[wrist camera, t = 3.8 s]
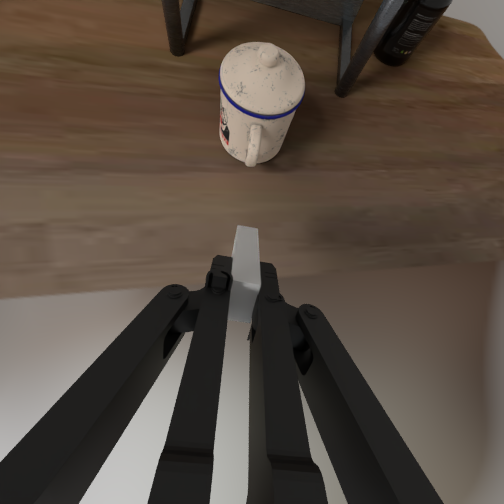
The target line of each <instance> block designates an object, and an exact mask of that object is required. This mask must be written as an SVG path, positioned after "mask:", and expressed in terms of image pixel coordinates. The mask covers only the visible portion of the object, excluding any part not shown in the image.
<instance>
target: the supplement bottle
mask: <svg viewBox="0 0 504 504" xmlns="http://www.w3.org/2000/svg"><path fill="white" fill-rule="evenodd" d="M451 2H452V0H404V2H403V4H402V5H401V7H400V9H399V10H398V12H397V14H396V15H395V17H394V18H393V20H392V22H391V23H390V25H389V27H388V28H387V30H386V32H385V33H384V35H383V36H382V38H381V40H380V41H379V43H378V45H377V46H376V48H375V50H374V51H373V53H374V54H375V56H376V57H377V58H378V59H379V60H380V61H381V62H383V63H384V64H387V65H390V66H399V65H402V64H404V63H405V62H406V61H407V60H408V59H409V58H410V56H411V55H412V54H413V53H414V51H415V50H416V49H417V47H418V46H419V45H420V43H421V42H422V41H423V39H424V38H425V37H426V36H427V34H428V33H429V32H430V30H431V29H432V28H433V26H434V25H435V24H436V23H437V21H438V20H439V19H440V17H441V16H442V15H443V13H444V12H445V11H446V9H447V8H448V7H449V5H450V4H451Z"/></svg>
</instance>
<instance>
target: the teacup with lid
mask: <svg viewBox="0 0 504 504" xmlns="http://www.w3.org/2000/svg"><path fill="white" fill-rule="evenodd" d="M219 84H220V88H221V98H220V139H221V142H222V144H223V146H224V148H225V149H226V150H227V152H228V153H229V154H231V155H232V156H233V157H234V158H236V159H238V160H240V161H243V162H245V164H246V166H249V167H254V166H255V165H256V163H262V162H266V161H268V160H270V159H272V158H273V157H274V156H275V155H276V154H277V153H278V152H279V150H280V148H281V146H282V143H283V141H284V138H285V136H286V133H287V131H288V128H289V126H290V123H291V121H292V118H293V116H294V114H295V111H296V109H297V108H298V107H299V105H300V104H301V102H302V100H303V97H304V93H305V80H304V75H303V72H302V70H301V68H300V66H299V64H298V63H297V61H296V60H295V59H294V58H293V57H292V56H291V55H290V54H289V53H287V52H286V51H284V50H283V49H281V48H279V47H277V46H275V45H273V44H271V43H263V42H249V43H244V44H241V45H239V46H237V47H235V48H234V49H232V50H231V51H230V52H229V53H228V54H227V55H226V56H225V58H224V60H223V62H222V64H221V66H220V70H219Z"/></svg>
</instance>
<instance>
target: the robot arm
mask: <svg viewBox="0 0 504 504" xmlns="http://www.w3.org/2000/svg"><path fill="white" fill-rule="evenodd" d="M251 318H252V325H251V328H250V332H249V335H248V339H247V340H249V339H250V371H249V373H250V374H249V378H250V380H249V472H248V496H247V502H246V504H328V501H327V497H326V491H325V485H324V481H323V477H322V474H321V471H320V469H319V467H318V466H317V465H316V464H315V463H314V462H313V460H312V458H311V454H310V448H309V442H308V436H307V430H306V424H305V418H304V413H303V407H302V401H301V395H300V390H299V383H300V386H301V388H302V391H303V393H304V396H305V398H306V401H307V403H308V406H309V408H310V410H311V413H312V415H313V418H314V421H315V423H316V426H317V428H318V431H319V433H320V435H321V438H322V441H323V443H324V445H325V448H326V451H327V453H328V456H329V458H330V460H331V463H332V465H333V468H334V470H335V473H336V475H337V478H338V480H339V483H340V485H341V488H342V490H343V493H344V495H345V498H346V500H347V502H348V504H444V503H443V502H442V500H441V499H440V497H439V496H438V494H437V492H436V491H435V489H434V488H433V486H432V484H431V483H430V481H429V480H428V478H427V477H426V475H425V474H424V472H423V470H422V469H421V467H420V466H419V464H418V462H417V461H416V459H415V458H414V456H413V455H412V453H411V451H410V450H409V448H408V447H407V445H406V443H405V442H404V441H403V439H402V437H401V436H400V434H399V432H398V431H397V430H396V428H395V426H394V425H393V423H392V421H391V420H390V418H389V417H388V415H387V414H386V412H385V410H384V409H383V407H382V406H381V404H380V403H379V401H378V400H377V398H376V396H375V395H374V394H373V392H372V390H371V388H370V387H369V385H368V384H367V382H366V380H365V379H364V377H363V376H362V374H361V373H360V371H359V369H358V368H357V366H356V365H355V363H354V362H353V360H352V359H351V357H350V355H349V354H348V352H347V351H346V349H345V348H344V346H343V344H342V343H341V341H340V340H339V338H338V336H337V335H336V333H335V332H334V330H333V329H332V327H331V325H330V324H329V322H328V321H327V319H326V317H325V316H324V314H323V313H322V312H321V311H320V309H318V308H317V307H315V306H313V305H310V304H303V305H301V306H300V307H299V308H296V307H294V306H291V305H289V304H287V303H286V302H285V300H284V298H283V296H282V295H281V294H280V293H279V286H278V279H277V273H276V268H275V267H274V266H273V264H271V263H265V262H260V258H259V240H258V229H257V228H251V227H246V226H241V225H238V226H237V231H236V236H235V242H234V247H233V252H232V257H227V256H221V255H217V256H216V257H215V258H213V262H212V265H211V269H210V271H209V272H208V273H207V276H206V283H205V287H204V288H202V289H201V290H197V291H188V289H187V288H186V287H184V286H182V285H178V284H172V285H168V286H166V287H164V288H163V289H162V290H161V291H160V292H159V293H158V294H157V295H156V296H155V297H154V298H153V299H152V300H151V301H150V303H149V304H148V305H147V306H146V307H145V308H144V309H143V310H142V311H141V312H140V313H139V314H138V315H137V316H136V318H135V319H134V320H133V321H132V322H131V323H130V324H129V325H128V326H127V327H126V328H125V329H124V330H123V331H122V332H121V334H120V335H119V336H118V337H117V338H116V339H115V340H114V341H113V342H112V343H111V344H110V345H109V346H108V347H107V349H106V350H105V351H104V352H103V353H102V354H101V355H100V356H99V357H98V358H97V359H96V360H95V361H94V363H93V364H92V365H91V366H90V367H89V368H88V369H87V370H86V371H85V372H84V373H83V374H82V375H81V376H80V378H79V379H78V380H77V381H76V382H75V383H74V384H73V385H72V386H71V387H70V388H69V389H68V390H67V391H66V393H65V394H64V395H63V396H62V397H61V398H60V399H59V400H58V401H57V402H56V403H55V404H54V405H53V406H52V407H51V409H50V410H49V411H48V412H47V413H46V414H45V415H44V416H43V417H42V418H41V419H40V420H39V421H38V423H37V424H36V425H35V426H34V427H33V428H32V429H31V430H30V431H29V432H28V433H27V434H26V435H25V436H24V437H23V438H22V440H21V441H20V442H19V443H18V444H17V445H16V446H15V447H14V448H13V449H12V450H11V451H10V452H9V453H8V455H7V456H6V457H5V458H4V459H3V460H2V461H1V462H0V504H79V502H80V501H81V499H82V497H83V496H84V494H85V493H86V491H87V489H88V488H89V486H90V485H91V483H92V481H93V480H94V478H95V477H96V475H97V473H98V472H99V470H100V468H101V467H102V465H103V464H104V462H105V461H106V459H107V457H108V456H109V454H110V453H111V451H112V449H113V448H114V446H115V445H116V443H117V442H118V440H119V438H120V437H121V435H122V434H123V432H124V430H125V429H126V427H127V426H128V424H129V422H130V421H131V419H132V418H133V416H134V414H135V413H136V411H137V409H138V408H139V406H140V405H141V403H142V402H143V399H144V398H145V397H146V395H147V394H148V392H149V390H150V389H151V387H152V386H153V384H154V382H155V381H156V379H157V378H158V376H159V374H160V373H161V371H162V369H163V368H164V366H165V365H166V363H167V362H168V360H169V358H170V357H171V355H172V354H173V352H174V350H175V349H176V347H177V346H178V344H179V342H180V341H181V339H182V338H183V336H184V334H185V332H190V331H194V332H193V337H192V340H191V344H190V349H189V352H188V356H187V360H186V364H185V368H184V372H183V376H182V379H181V383H180V387H179V391H178V395H177V399H176V403H175V407H174V411H173V415H172V419H171V423H170V426H169V431H168V434H167V439H166V442H165V446H164V449H163V451H162V453H161V456H160V459H159V462H158V466H157V469H156V473H155V477H154V481H153V484H152V488H151V492H150V496H149V500H148V504H209V503H210V493H211V483H212V473H213V461H214V455H213V450H214V440H215V431H216V421H217V412H218V402H219V393H220V385H221V384H220V383H221V375H222V366H223V357H224V347H225V339H226V329H227V320H232V321H240V322H246V323H250V322H251ZM298 381H299V383H298Z"/></svg>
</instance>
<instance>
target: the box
mask: <svg viewBox="0 0 504 504" xmlns="http://www.w3.org/2000/svg"><path fill="white" fill-rule="evenodd" d="M252 1H256V2H259V3H263V4H266V5H270V6H273V7H277V8H280V9H284V10H287V11H291V12H294V13H298V14H301V15H305V16H308V17H312V18H315V19H319V20H322V21H326V22H329V23H333V24H336V25H340V40H339V56H338V72H337V87H336V89H335V94H336V95H337V96H338V97H341V98H344V97H346V95H347V94H348V92H349V91H350V89H351V87H352V86H353V84H354V82H355V81H356V79H357V77H358V76H359V74H360V73H361V71H362V69H363V68H364V66H365V64H366V63H367V61H368V59H369V58H370V56H371V55H372V53H373V51H374V50H375V48H376V46H377V45H378V43H379V41H380V40H381V38H382V36H383V35H384V33H385V32H386V30H387V28H388V27H389V25H390V23H391V22H392V20H393V18H394V17H395V15H396V14H397V12H398V10H399V9H400V7H401V5H402V4H403V2H404V0H383V2H382V4H381V6H380V7H379V9H378V11H377V13H376V15H375V17H374V19H373V20H372V22H371V24H370V26H369V28H368V30H367V31H366V33H365V35H364V37H363V39H362V41H361V43H360V44H359V46H358V48H357V50H356V52H355V54H354V55H353V57H352V59H351V61H350V52H351V30H352V23H353V21H354V19H355V17H356V15H357V13H358V11H359V9H360V7H361V5H362V2H363V0H252ZM196 3H197V0H183V3H182V7H181V10H180V8H179V0H162V6H163V11H164V17H165V23H166V29H167V35H168V40H169V46H170V52H171V53H172V54H173V55H175V56H182V55H183V54H184V52H185V50H184V46H185V42H186V39H187V35H188V31H189V28H190V24H191V21H192V17H193V13H194V10H195V6H196Z"/></svg>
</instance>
